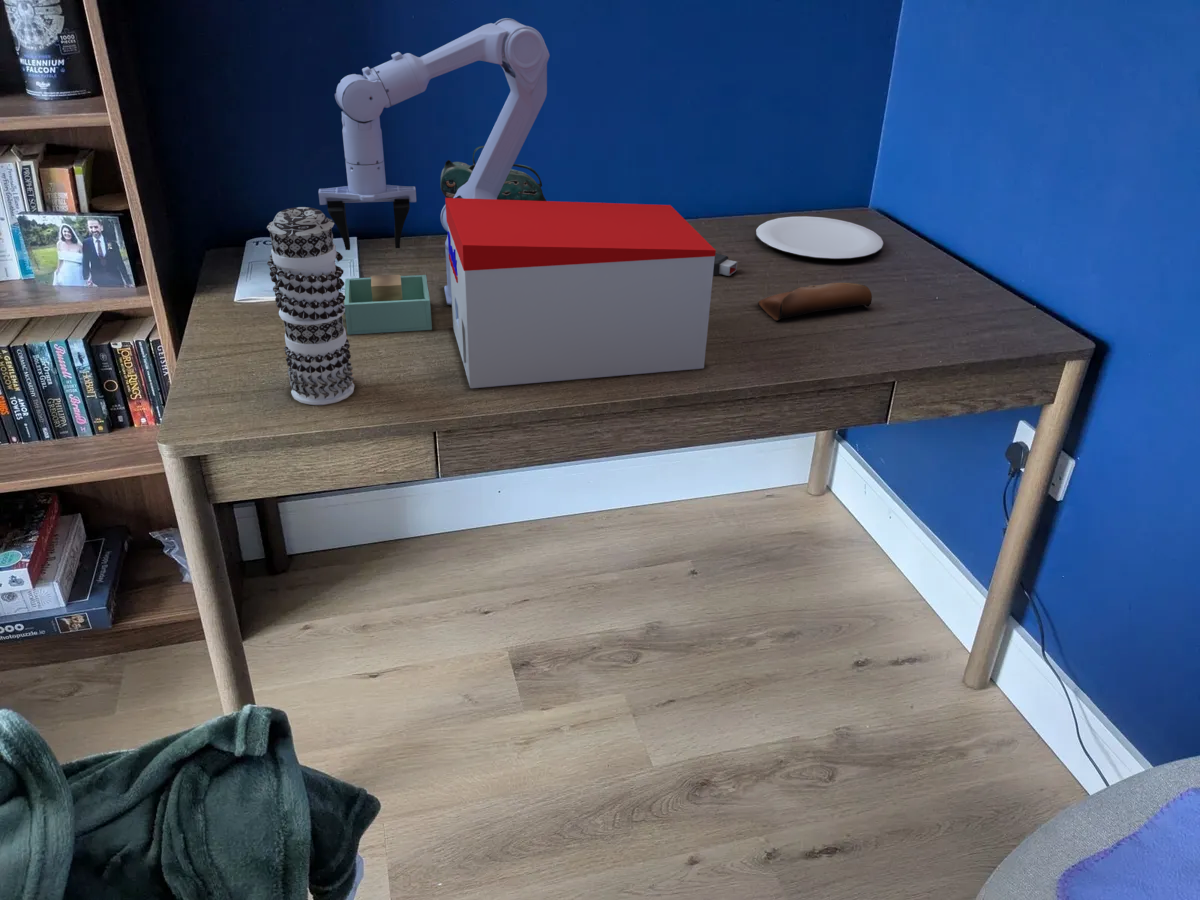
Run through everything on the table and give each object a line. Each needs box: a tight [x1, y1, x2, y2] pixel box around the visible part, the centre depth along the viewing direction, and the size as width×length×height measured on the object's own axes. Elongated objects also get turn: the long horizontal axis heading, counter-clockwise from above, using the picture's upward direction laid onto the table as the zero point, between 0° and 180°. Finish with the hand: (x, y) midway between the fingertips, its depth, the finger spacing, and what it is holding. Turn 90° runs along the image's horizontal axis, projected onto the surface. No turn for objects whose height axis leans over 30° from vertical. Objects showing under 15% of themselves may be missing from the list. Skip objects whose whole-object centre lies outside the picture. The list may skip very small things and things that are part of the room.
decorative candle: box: [266, 206, 355, 406], centre depth 125 cm, size 9×9×25 cm
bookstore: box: [444, 197, 717, 389], centre depth 140 cm, size 21×35×21 cm, turn 104°
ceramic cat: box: [439, 145, 547, 201], centre depth 176 cm, size 20×6×20 cm, turn 104°
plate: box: [755, 215, 884, 261], centre depth 190 cm, size 25×25×2 cm
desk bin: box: [343, 274, 433, 336], centre depth 152 cm, size 13×11×5 cm
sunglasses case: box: [757, 282, 873, 321], centre depth 161 cm, size 18×7×7 cm, turn 113°
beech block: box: [370, 273, 403, 302], centre depth 152 cm, size 5×5×6 cm
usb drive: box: [713, 253, 738, 277], centre depth 176 cm, size 5×12×3 cm, turn 58°
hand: (372, 247), depth 151 cm, fingers open, 7 cm apart
